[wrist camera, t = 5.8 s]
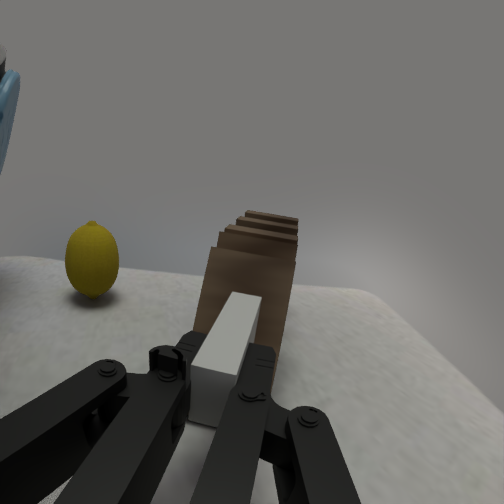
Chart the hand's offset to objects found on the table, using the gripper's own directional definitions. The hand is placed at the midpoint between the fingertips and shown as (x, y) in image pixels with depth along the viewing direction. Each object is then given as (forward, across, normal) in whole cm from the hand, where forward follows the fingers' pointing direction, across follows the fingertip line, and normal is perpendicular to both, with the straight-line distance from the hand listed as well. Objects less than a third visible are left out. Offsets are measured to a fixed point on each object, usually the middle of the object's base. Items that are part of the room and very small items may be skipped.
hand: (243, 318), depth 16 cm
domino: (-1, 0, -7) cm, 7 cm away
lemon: (+10, -16, -7) cm, 20 cm away
